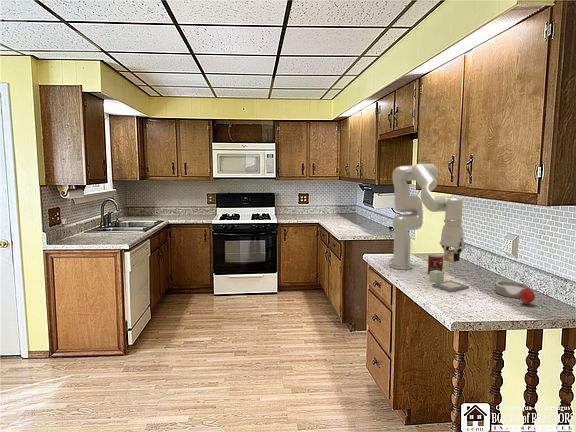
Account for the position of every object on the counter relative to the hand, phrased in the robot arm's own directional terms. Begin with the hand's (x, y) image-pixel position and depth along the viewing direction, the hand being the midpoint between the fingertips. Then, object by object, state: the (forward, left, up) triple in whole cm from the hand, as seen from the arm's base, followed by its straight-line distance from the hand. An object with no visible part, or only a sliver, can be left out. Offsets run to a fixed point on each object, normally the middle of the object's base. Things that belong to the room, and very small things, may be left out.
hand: (451, 259), depth 195 cm
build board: (0, 0, -14) cm, 14 cm away
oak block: (0, 0, -1) cm, 1 cm away
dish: (+20, +17, -15) cm, 30 cm away
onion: (+32, +9, -14) cm, 36 cm away
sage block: (-12, +3, -14) cm, 19 cm away
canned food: (-22, +13, -14) cm, 29 cm away
